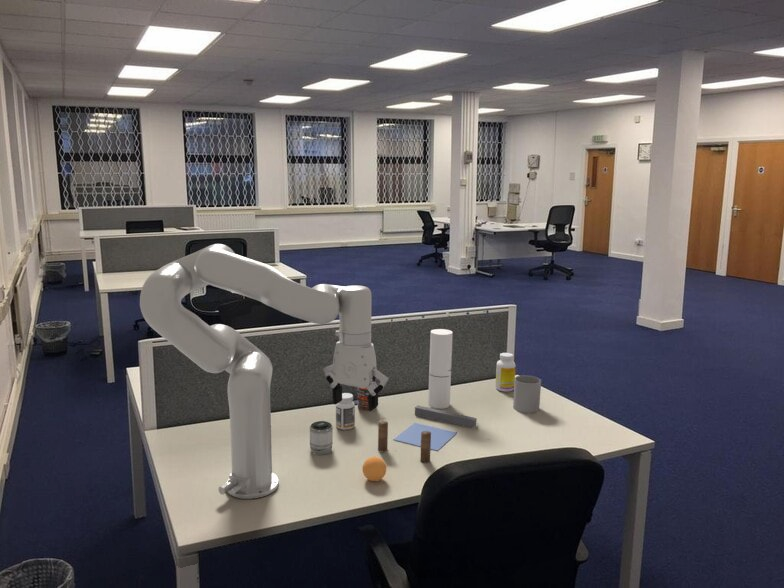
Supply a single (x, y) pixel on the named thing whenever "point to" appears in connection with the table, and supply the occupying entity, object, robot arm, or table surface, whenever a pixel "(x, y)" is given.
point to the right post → (425, 446)
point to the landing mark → (414, 436)
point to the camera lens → (321, 437)
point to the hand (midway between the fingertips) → (355, 405)
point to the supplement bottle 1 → (363, 399)
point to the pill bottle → (345, 412)
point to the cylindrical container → (440, 368)
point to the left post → (382, 436)
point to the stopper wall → (446, 416)
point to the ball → (374, 468)
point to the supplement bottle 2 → (505, 373)
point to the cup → (527, 394)
